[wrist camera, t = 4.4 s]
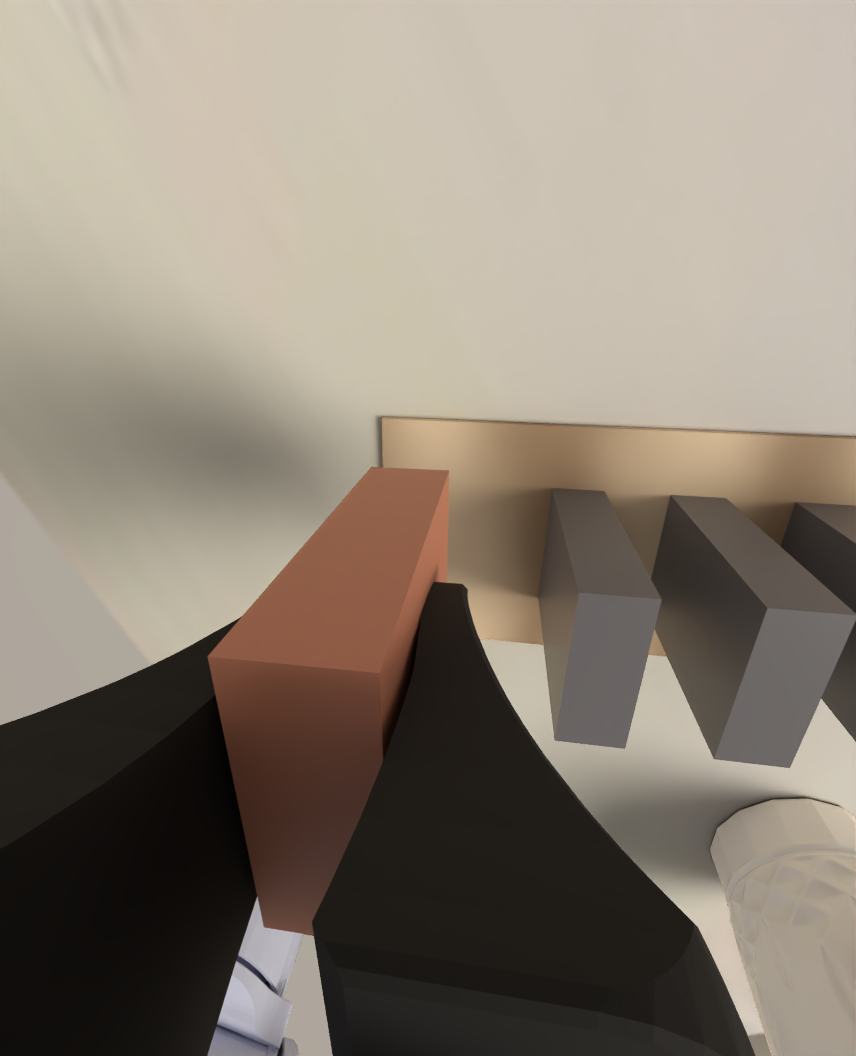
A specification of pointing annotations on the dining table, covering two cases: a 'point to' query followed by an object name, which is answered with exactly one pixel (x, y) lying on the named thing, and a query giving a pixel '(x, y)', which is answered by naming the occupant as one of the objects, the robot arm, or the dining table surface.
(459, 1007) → the robot arm
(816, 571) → the domino
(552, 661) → the domino
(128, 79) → the dining table surface
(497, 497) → the cork strip
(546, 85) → the dining table surface
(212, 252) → the dining table surface
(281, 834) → the rust domino
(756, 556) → the domino
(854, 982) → the white cup
